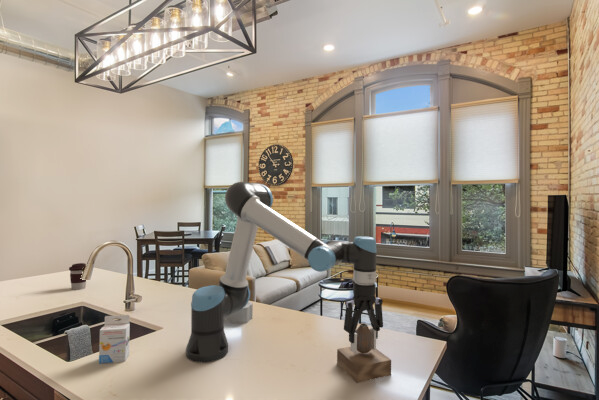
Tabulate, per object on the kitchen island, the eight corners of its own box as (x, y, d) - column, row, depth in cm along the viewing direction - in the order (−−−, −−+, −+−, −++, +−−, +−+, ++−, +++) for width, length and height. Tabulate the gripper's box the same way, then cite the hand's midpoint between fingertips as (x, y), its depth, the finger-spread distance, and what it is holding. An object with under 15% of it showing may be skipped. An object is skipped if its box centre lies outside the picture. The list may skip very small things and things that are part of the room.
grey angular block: (244, 324, 148) (244, 305, 147) (219, 321, 152) (219, 302, 152) (254, 317, 157) (254, 299, 157) (231, 313, 161) (231, 296, 161)
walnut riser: (356, 382, 102) (357, 366, 102) (337, 363, 114) (337, 348, 114) (391, 375, 107) (391, 359, 107) (368, 356, 119) (368, 343, 119)
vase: (361, 357, 106) (362, 330, 106) (348, 348, 112) (349, 322, 112) (377, 352, 109) (378, 326, 109) (364, 344, 115) (365, 319, 115)
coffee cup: (64, 290, 197) (64, 265, 197) (78, 285, 207) (78, 262, 207) (78, 291, 195) (79, 266, 195) (92, 286, 205) (92, 263, 205)
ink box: (98, 364, 111) (98, 321, 111) (103, 357, 116) (104, 315, 116) (125, 361, 113) (126, 319, 113) (129, 355, 118) (130, 314, 118)
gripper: (344, 287, 103) (343, 360, 103) (395, 282, 111) (394, 350, 111) (333, 282, 110) (332, 349, 110) (382, 277, 118) (380, 341, 118)
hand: (363, 349), depth 110 cm, fingers closed on vase, 7 cm apart
